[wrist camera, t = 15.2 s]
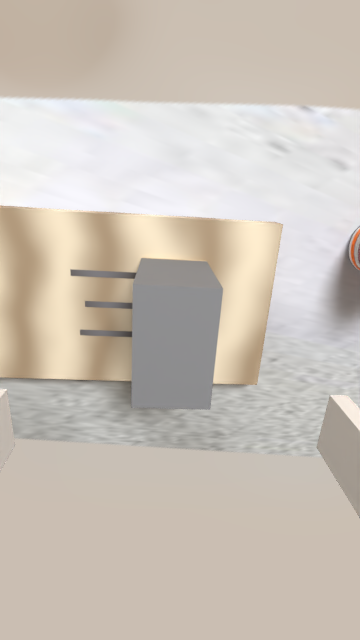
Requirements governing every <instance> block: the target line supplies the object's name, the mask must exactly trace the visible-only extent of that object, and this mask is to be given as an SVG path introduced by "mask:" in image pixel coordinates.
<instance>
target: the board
mask: <svg viewBox="0 0 360 640" xmlns="http://www.w3.org/2000/svg"><path fill="white" fill-rule="evenodd" d="M282 227H283V224H280V223H276V222H265V221H248V220H231V219H215V218H198V217H181V216H164V215H148V214H131V213H114V212H97V211H81V210H64V209H47V208H30V207H14V206H0V377H7V378H41V379H75V380H110V381H132V302H133V282H134V279H135V276H136V273H137V270H138V267H139V264H140V261H141V258H142V257H146V258H165V259H184V260H203V261H207V262H208V264H209V266H210V267H211V269H212V271H213V272H214V274H215V276H216V277H217V279H218V281H219V282H220V284H221V286H222V287H223V296H222V305H221V314H220V323H219V332H218V341H217V350H216V359H215V368H214V377H213V384H247V385H257V381H258V375H259V369H260V362H261V356H262V350H263V344H264V338H265V332H266V325H267V319H268V313H269V307H270V301H271V295H272V289H273V282H274V276H275V270H276V264H277V258H278V252H279V245H280V239H281V233H282Z"/></svg>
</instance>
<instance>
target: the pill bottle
mask: <svg viewBox="0 0 360 640" xmlns="http://www.w3.org/2000/svg"><path fill="white" fill-rule="evenodd" d="M349 258H350V261H351V263H352V264H353V266H354V267H355V268H356V269H358V270H359V271H360V227H359V228H358V229H357V230H356V231H355V233H354V234H353V236H352V238H351V241H350V245H349Z"/></svg>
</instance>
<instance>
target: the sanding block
mask: <svg viewBox="0 0 360 640" xmlns="http://www.w3.org/2000/svg"><path fill="white" fill-rule="evenodd" d="M222 296H223V287H222V286H221V284H220V282H219V281H218V279H217V277H216V276H215V274H214V272H213V271H212V269H211V267H210V266H209V264H208V262H207V261H203V260H184V259H165V258H146V257H142V258H141V261H140V264H139V267H138V270H137V273H136V276H135V279H134V282H133V302H132V388H131V408H170V409H210V405H211V396H212V387H213V377H214V368H215V359H216V350H217V341H218V332H219V323H220V314H221V305H222Z"/></svg>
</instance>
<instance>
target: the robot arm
mask: <svg viewBox="0 0 360 640" xmlns="http://www.w3.org/2000/svg"><path fill="white" fill-rule="evenodd" d="M14 446H15V442H14V435H13V429H12V422H11V415H10V408H9V401H8V394H7V389H0V471H1V469H2V468H3V466H4V464H5V462H6V461H7V459H8V457H9V455H10V453H11V451H12V450H13V448H14ZM317 449H318V451H319V452H320V454H321V455H322V457H323V459H324V460H325V462H326V464H327V465H328V467H329V469H330V470H331V472H332V473H333V475H334V477H335V478H336V480H337V482H338V483H339V485H340V487H341V488H342V490H343V491H344V493H345V495H346V496H347V498H348V500H349V501H350V503H351V504H352V506H353V508H354V509H355V511H356V513H357V514H358V516H359V518H360V409H359V408H358V406H357V405H356V404H355V403H354V402H353V401H352V400H351V399H350V398H349V397H348V396H347V395H330V397H329V401H328V405H327V409H326V412H325V416H324V420H323V424H322V428H321V432H320V436H319V440H318V444H317Z"/></svg>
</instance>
